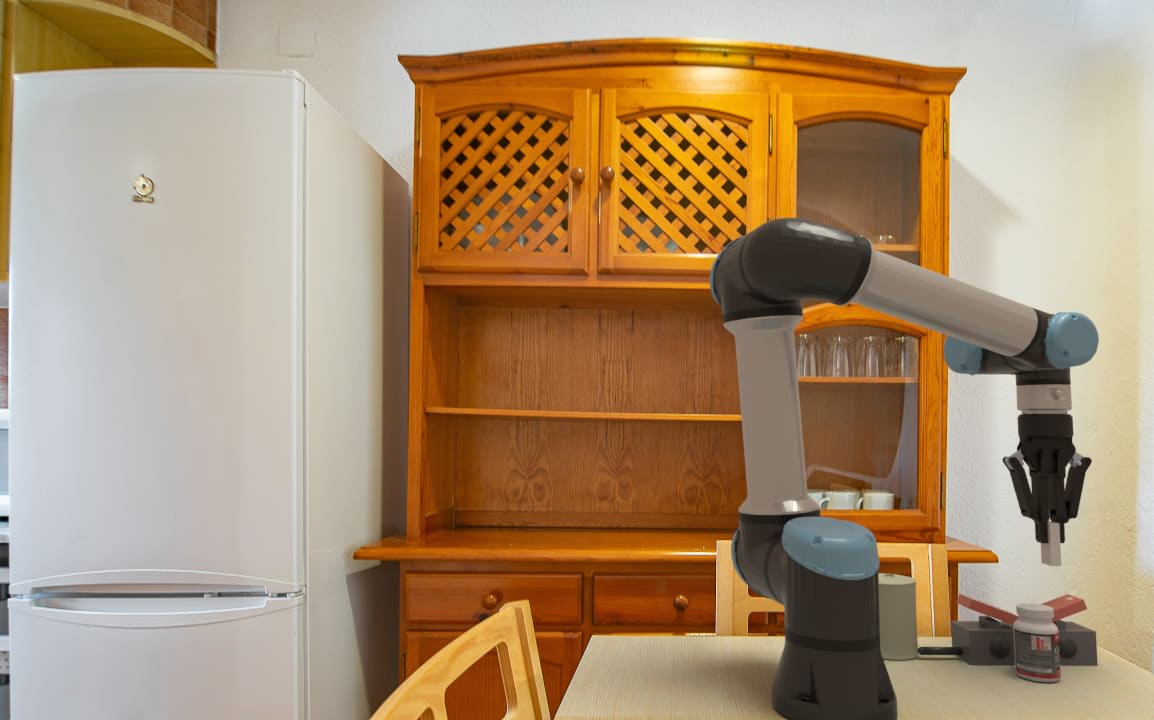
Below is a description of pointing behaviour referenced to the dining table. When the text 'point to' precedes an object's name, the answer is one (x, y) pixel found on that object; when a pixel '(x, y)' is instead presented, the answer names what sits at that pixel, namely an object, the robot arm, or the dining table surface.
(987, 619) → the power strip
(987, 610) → the rocker
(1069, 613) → the rocker
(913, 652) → the can
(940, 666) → the dining table surface
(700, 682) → the dining table surface
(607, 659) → the dining table surface
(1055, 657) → the pill bottle
